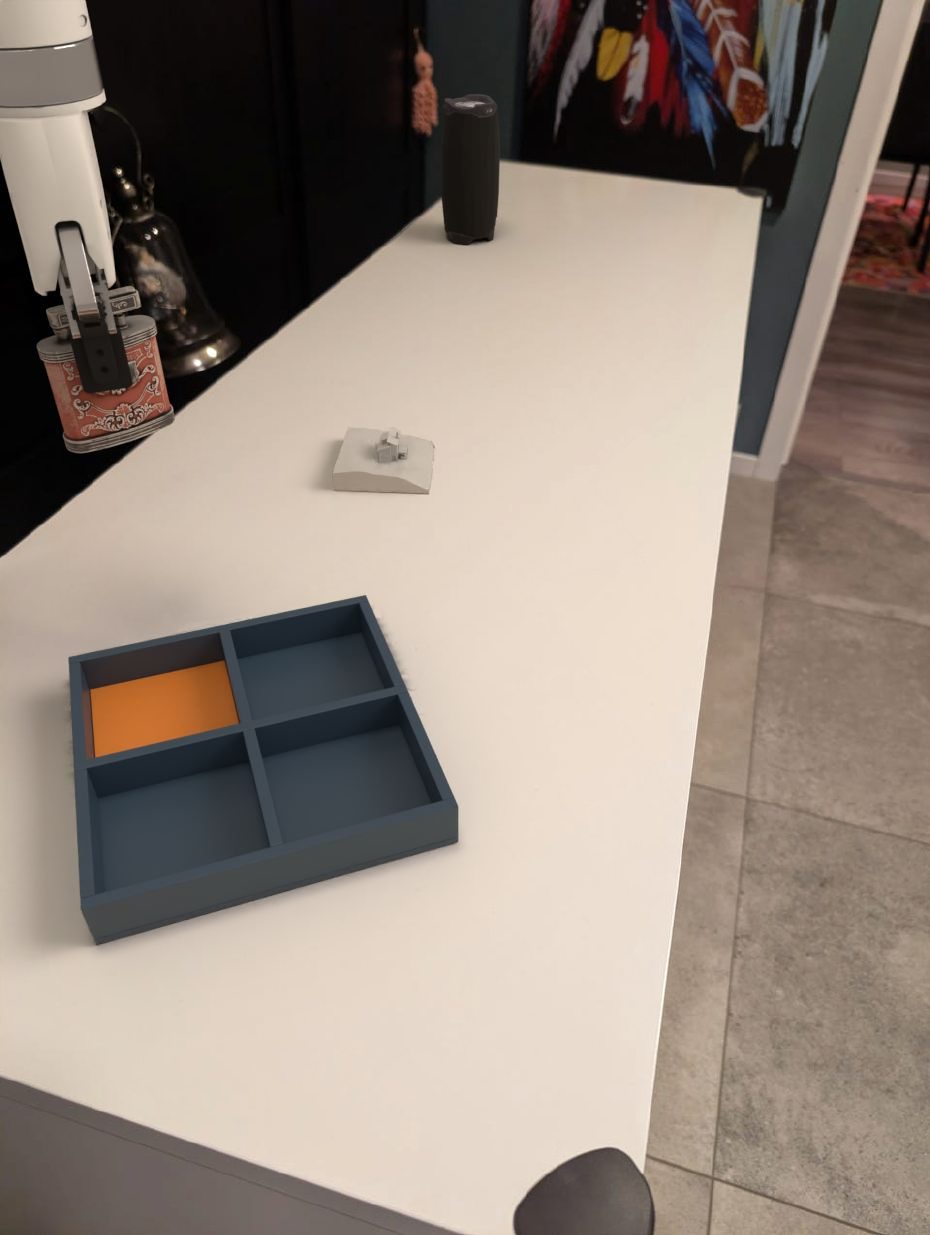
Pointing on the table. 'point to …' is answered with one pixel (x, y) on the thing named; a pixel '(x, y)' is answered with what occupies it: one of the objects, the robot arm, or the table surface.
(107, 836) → the tray
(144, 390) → the lighter
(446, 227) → the portable speaker
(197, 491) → the table surface
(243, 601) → the table surface
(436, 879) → the table surface
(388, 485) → the miniature house
